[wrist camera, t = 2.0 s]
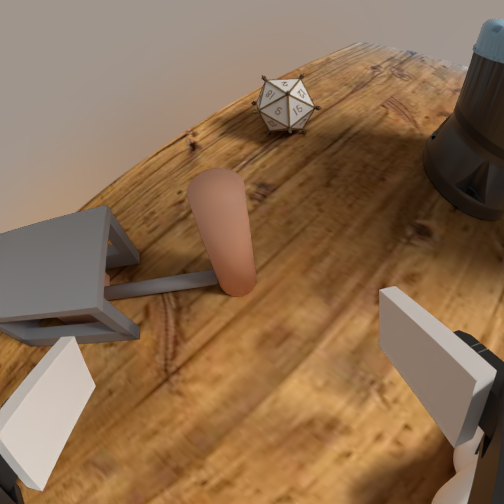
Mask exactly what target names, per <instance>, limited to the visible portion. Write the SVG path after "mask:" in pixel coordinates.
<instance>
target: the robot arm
mask: <svg viewBox="0 0 504 504" xmlns="http://www.w3.org/2000/svg"><path fill="white" fill-rule="evenodd" d="M473 51H474V53H473V56H472V59H471V63H470V66H469V69H468V72H467V75H466V78H465V81H464V84H463V87H462V89H461V92H460V95H459V98H458V101H457V103H456V106H455V108H454V111H453V112H452V113H451V114H450V116H449V117H448V118H447V119H446V120H445V121H444V122H443V123H442V124H441V125H440V126H439V128H438V129H437V130H436V131H435V132H434V133H433V134H432V135H431V136H430V138H429V140H428V142H427V145H426V147H425V150H424V153H423V163H424V167H425V170H426V172H427V174H428V176H429V178H430V180H431V181H432V183H433V184H434V186H435V187H436V188H437V190H438V191H439V192H440V193H441V194H442V195H443V196H444V197H445V198H446V199H447V200H448V201H449V202H451V203H452V204H453V205H454V206H456V207H457V208H459V209H460V210H462V211H463V212H465V213H467V214H469V215H471V216H474V217H476V218H479V219H483V220H498V219H501V218H503V217H504V20H501V19H490V20H487V21H486V22H485V23H484V24H483V26H482V28H481V31H480V34H479V37H478V39H477V42H476V44H475V45H474V46H473ZM379 347H380V349H381V350H382V351H383V352H384V354H385V355H386V356H387V358H388V359H389V360H390V362H391V363H392V364H393V366H394V367H395V368H396V370H397V371H398V372H399V373H400V375H401V376H402V377H403V379H404V380H405V381H406V383H407V384H408V385H409V387H410V388H411V390H412V391H413V392H414V394H415V395H416V396H417V398H418V399H419V400H420V402H421V403H422V404H423V406H424V407H425V409H426V410H427V411H428V413H429V414H430V415H431V417H432V418H433V420H434V421H435V422H436V424H437V425H438V426H439V428H440V429H441V431H442V432H443V433H444V435H445V436H446V438H447V439H448V441H449V442H450V443H451V445H452V446H453V448H455V447H457V446H459V445H461V444H463V443H465V442H467V441H469V440H471V439H473V437H474V435H475V432H476V430H477V427H478V426H479V427H480V428H481V429H482V431H483V432H484V434H483V436H482V438H481V441H480V443H479V445H478V447H477V449H476V452H475V455H477V454H478V452H479V455H478V460H477V465H476V470H475V474H474V479H473V483H472V487H471V491H470V495H469V498H468V502H467V504H504V362H503V361H502V360H501V359H499V358H498V357H497V356H496V355H495V354H494V353H492V352H491V351H490V350H489V349H488V350H487V348H486V347H485V346H484V345H483V344H480V342H479V341H478V340H476V339H475V338H474V337H473V336H471V335H470V334H467V333H464V332H462V331H459V330H458V331H455V332H452V331H450V330H449V329H448V328H447V327H446V326H444V325H443V324H442V323H441V322H440V321H438V320H437V319H436V318H435V317H433V316H432V315H431V314H430V313H429V312H427V311H426V310H425V309H424V308H422V307H421V306H420V305H419V304H417V303H416V302H415V301H414V300H412V299H411V298H410V297H409V296H407V295H406V294H405V293H404V292H402V291H401V290H400V289H398V288H397V287H396V286H394V287H389V288H385V289H381V290H379ZM95 387H96V386H95V384H94V381H93V379H92V377H91V375H90V373H89V370H88V368H87V366H86V363H85V361H84V359H83V356H82V354H81V352H80V349H79V347H78V344H77V342H76V339H75V337H74V336H69V337H61V338H60V339H59V340H58V341H57V342H56V343H55V345H54V346H53V347H52V348H51V349H50V350H49V351H48V352H47V354H46V355H45V356H44V357H43V358H42V359H41V361H40V362H39V363H38V364H37V365H36V366H35V368H34V369H33V370H32V371H31V372H30V373H29V375H28V376H27V377H26V378H25V379H24V381H23V382H22V383H21V384H20V386H19V387H18V388H17V389H16V390H15V392H14V393H13V394H12V395H11V397H9V398H8V399H7V400H6V401H5V403H4V404H3V405H2V406H1V409H0V504H24V501H23V497H22V494H21V490H20V488H19V486H18V485H17V484H16V483H15V481H16V480H17V478H18V477H19V478H20V480H21V481H22V482H23V483H24V484H25V485H26V486H27V487H28V488H32V489H35V490H39V491H43V489H44V487H45V485H46V483H47V481H48V478H49V476H50V474H51V472H52V470H53V468H54V466H55V464H56V462H57V460H58V458H59V455H60V453H61V451H62V449H63V447H64V445H65V443H66V441H67V439H68V438H69V436H70V434H71V432H72V430H73V428H74V426H75V424H76V422H77V420H78V418H79V416H80V414H81V413H82V411H83V409H84V407H85V405H86V403H87V401H88V399H89V398H90V396H91V394H92V392H93V390H94V388H95Z"/></svg>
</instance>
